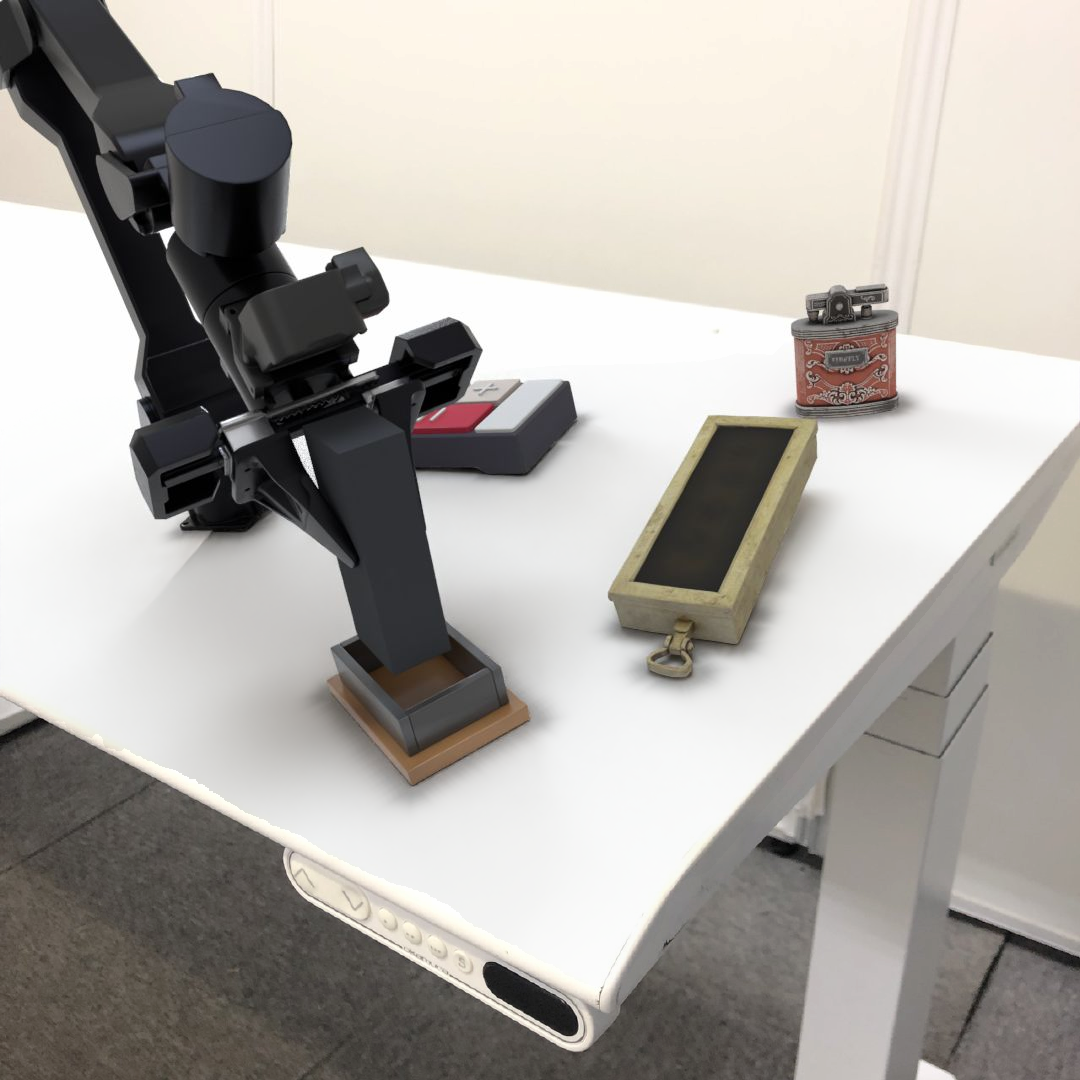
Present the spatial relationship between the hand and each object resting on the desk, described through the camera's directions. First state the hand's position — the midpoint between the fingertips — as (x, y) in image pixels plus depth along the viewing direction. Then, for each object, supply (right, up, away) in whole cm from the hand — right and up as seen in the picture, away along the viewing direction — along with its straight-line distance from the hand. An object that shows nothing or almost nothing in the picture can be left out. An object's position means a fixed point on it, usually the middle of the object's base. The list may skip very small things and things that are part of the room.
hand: (389, 549), depth 53 cm
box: (+19, -2, +13) cm, 23 cm away
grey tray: (+1, -9, +6) cm, 11 cm away
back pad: (0, -5, +4) cm, 7 cm away
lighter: (+33, +11, +31) cm, 46 cm away
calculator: (+2, +9, +38) cm, 39 cm away
